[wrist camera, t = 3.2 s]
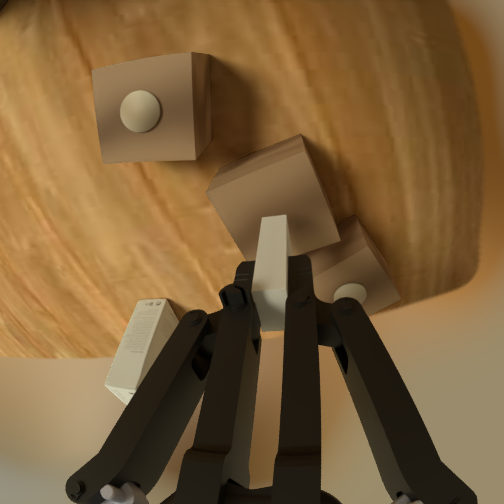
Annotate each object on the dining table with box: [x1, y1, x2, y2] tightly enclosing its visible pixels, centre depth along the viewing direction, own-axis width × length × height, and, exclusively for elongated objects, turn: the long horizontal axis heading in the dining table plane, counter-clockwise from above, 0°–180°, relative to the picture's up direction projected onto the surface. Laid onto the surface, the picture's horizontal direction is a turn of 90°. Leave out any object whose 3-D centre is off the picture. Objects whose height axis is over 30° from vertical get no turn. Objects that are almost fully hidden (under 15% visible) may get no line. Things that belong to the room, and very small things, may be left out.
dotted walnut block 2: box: [300, 214, 401, 316], centre depth 25 cm, size 7×7×5 cm
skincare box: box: [104, 299, 179, 405], centre depth 29 cm, size 6×4×12 cm
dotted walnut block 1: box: [92, 52, 212, 164], centre depth 18 cm, size 7×7×5 cm
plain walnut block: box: [206, 134, 341, 261], centre depth 22 cm, size 7×7×5 cm
